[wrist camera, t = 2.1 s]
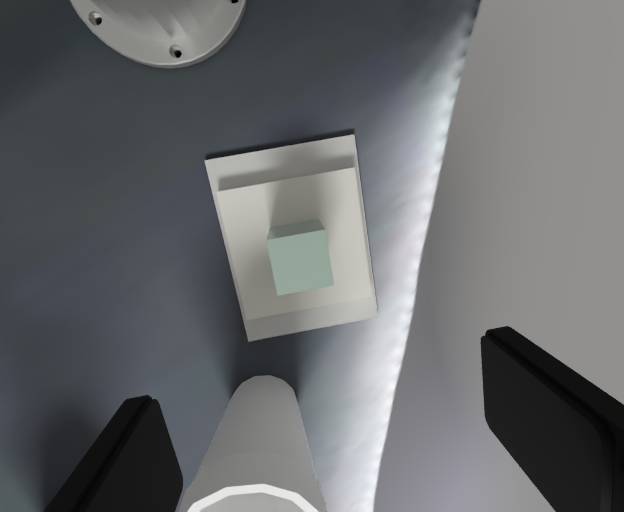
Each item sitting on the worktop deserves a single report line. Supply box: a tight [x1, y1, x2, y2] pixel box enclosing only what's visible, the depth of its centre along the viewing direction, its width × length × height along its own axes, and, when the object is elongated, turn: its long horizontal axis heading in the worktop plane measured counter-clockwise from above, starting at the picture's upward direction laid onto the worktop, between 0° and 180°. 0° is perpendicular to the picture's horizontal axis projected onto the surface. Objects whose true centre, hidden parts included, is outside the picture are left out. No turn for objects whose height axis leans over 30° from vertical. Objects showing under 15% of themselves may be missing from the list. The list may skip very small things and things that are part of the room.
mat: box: [205, 134, 378, 342], centre depth 29 cm, size 16×12×1 cm
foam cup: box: [179, 375, 327, 512], centre depth 27 cm, size 10×9×13 cm
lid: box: [216, 167, 372, 320], centre depth 26 cm, size 11×11×6 cm
